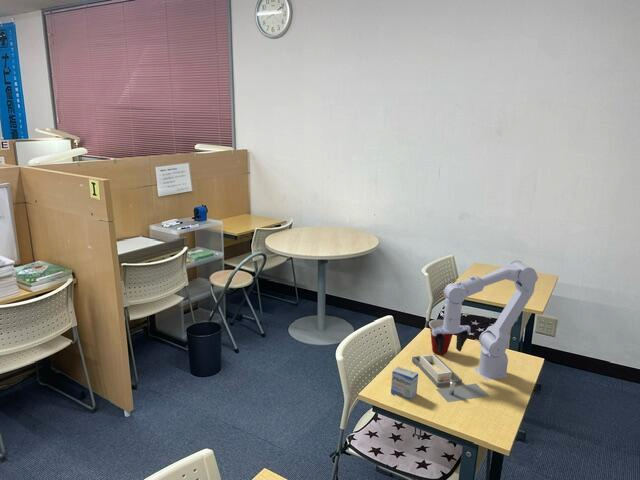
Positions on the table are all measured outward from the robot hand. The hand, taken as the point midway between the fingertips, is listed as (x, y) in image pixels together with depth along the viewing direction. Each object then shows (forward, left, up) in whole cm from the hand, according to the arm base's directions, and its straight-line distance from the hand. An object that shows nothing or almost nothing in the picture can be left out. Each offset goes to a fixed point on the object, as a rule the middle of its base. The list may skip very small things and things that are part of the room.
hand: (449, 351), depth 172 cm
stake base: (+1, +12, -10) cm, 16 cm away
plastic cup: (-7, -17, -10) cm, 21 cm away
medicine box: (+21, +8, -10) cm, 25 cm away
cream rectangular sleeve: (+3, -4, -10) cm, 11 cm away
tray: (+3, -3, -10) cm, 11 cm away
